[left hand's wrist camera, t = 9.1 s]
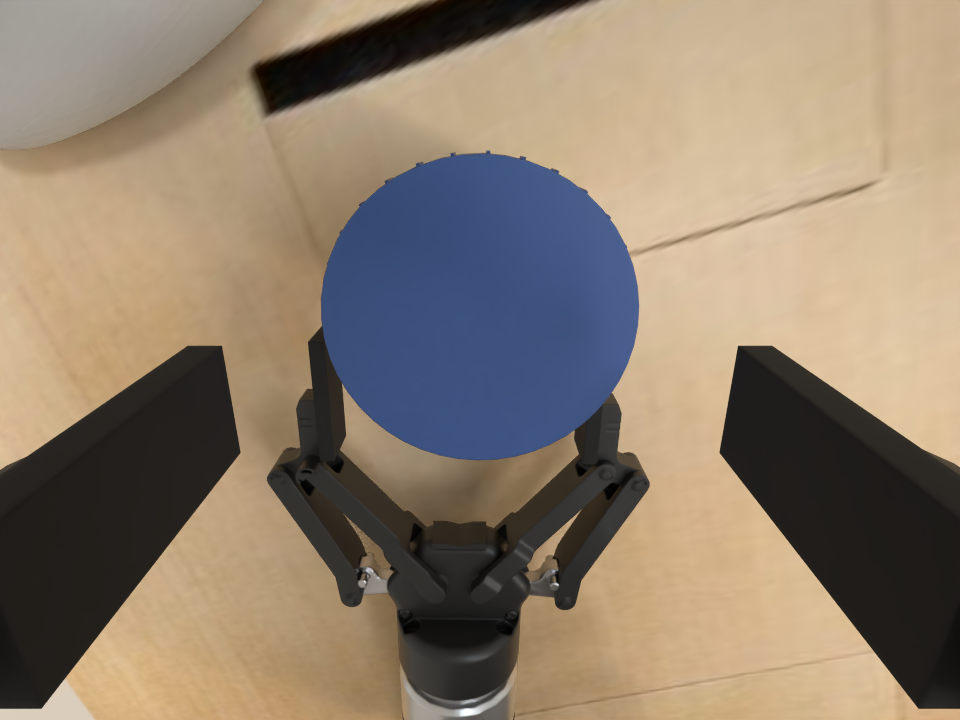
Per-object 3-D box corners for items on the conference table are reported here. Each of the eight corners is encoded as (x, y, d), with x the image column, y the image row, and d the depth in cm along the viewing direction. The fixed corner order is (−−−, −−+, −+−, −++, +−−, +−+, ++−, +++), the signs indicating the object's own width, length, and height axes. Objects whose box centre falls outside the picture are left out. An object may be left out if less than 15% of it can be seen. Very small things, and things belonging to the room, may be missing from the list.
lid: (574, 98, 18) (585, 93, 16) (660, 385, 21) (676, 406, 20) (279, 221, 19) (259, 229, 17) (405, 472, 23) (399, 498, 21)
